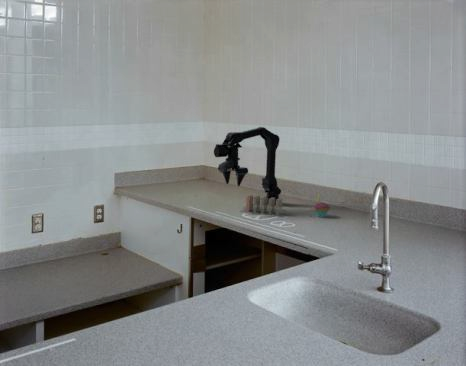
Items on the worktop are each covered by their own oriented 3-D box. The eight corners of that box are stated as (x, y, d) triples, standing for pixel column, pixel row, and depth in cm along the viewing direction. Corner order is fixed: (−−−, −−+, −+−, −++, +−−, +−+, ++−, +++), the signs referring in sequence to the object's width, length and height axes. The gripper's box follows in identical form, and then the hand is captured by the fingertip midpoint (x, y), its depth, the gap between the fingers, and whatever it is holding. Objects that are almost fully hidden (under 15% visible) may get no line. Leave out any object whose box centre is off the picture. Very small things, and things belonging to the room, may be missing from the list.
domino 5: (275, 215, 285) (276, 199, 284) (279, 213, 290) (279, 198, 288) (278, 215, 284) (278, 200, 283) (282, 213, 289) (282, 198, 288)
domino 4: (268, 214, 287) (268, 199, 286) (272, 212, 291) (272, 197, 290) (271, 214, 286) (271, 199, 285) (274, 212, 291) (275, 197, 289)
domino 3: (260, 213, 289) (261, 198, 288) (264, 211, 293) (264, 196, 292) (263, 213, 288) (263, 198, 287) (267, 211, 293) (267, 196, 291)
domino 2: (253, 212, 291) (253, 197, 289) (257, 210, 295) (257, 195, 294) (256, 212, 290) (256, 197, 289) (260, 211, 294) (260, 196, 293)
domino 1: (246, 211, 292) (246, 196, 291) (250, 209, 297) (250, 195, 296) (249, 212, 292) (249, 197, 290) (252, 210, 296) (253, 195, 295)
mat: (238, 212, 292) (238, 211, 292) (246, 209, 300) (246, 208, 300) (283, 217, 281) (283, 216, 281) (289, 214, 289) (289, 213, 289)
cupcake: (319, 218, 279) (320, 195, 277) (309, 215, 287) (310, 192, 285) (332, 217, 283) (333, 194, 281) (322, 213, 290) (323, 191, 289)
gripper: (210, 155, 299) (210, 184, 301) (233, 159, 285) (233, 189, 287) (226, 154, 306) (226, 182, 308) (249, 157, 292) (248, 186, 294)
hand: (232, 184), depth 299 cm, fingers open, 9 cm apart
